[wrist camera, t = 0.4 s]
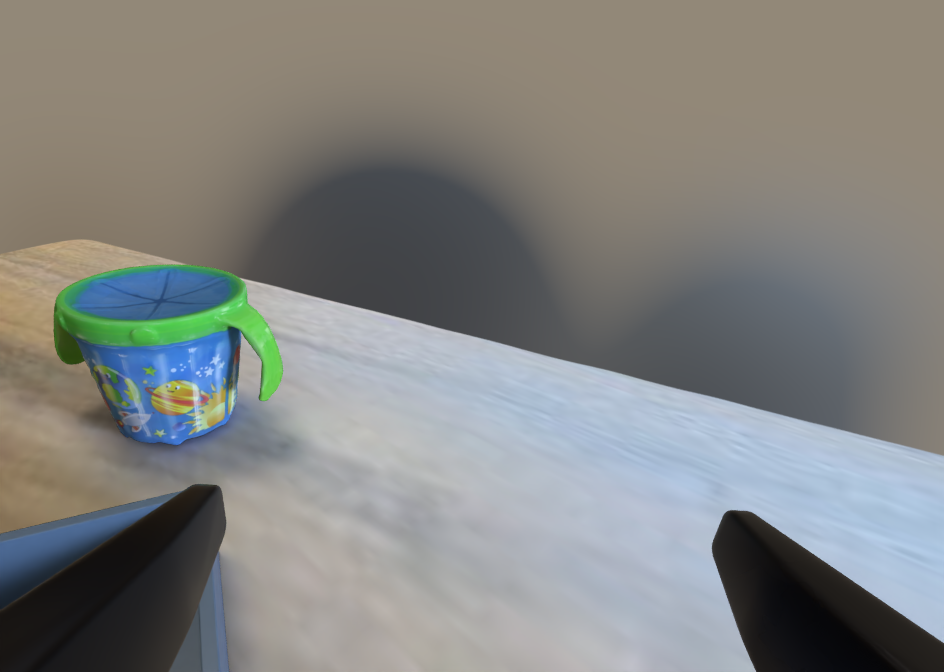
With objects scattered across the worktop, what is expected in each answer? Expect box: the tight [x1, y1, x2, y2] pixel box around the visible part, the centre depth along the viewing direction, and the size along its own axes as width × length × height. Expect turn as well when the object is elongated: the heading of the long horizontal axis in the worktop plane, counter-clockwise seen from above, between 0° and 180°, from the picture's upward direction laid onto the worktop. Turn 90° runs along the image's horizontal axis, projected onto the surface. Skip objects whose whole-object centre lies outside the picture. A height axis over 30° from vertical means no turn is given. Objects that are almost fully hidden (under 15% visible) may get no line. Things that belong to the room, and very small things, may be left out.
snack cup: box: [54, 265, 283, 445], centre depth 34 cm, size 16×10×10 cm
